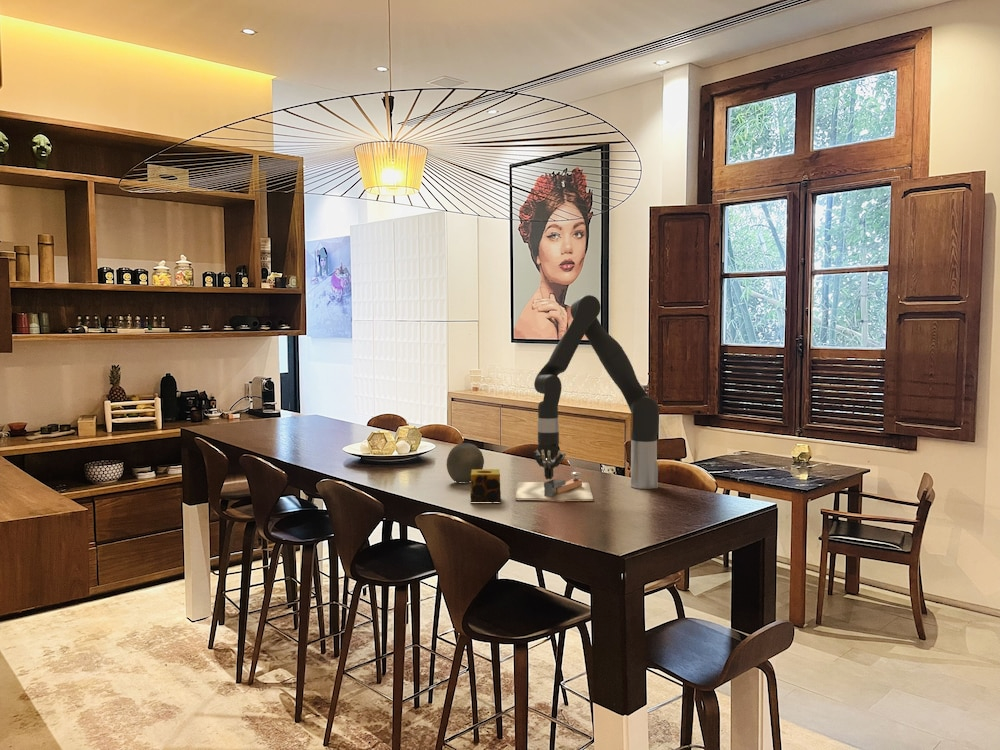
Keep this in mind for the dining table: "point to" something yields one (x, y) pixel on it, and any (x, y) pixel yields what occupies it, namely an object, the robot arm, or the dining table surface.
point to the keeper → (552, 487)
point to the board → (537, 492)
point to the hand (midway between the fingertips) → (548, 478)
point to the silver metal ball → (575, 475)
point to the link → (569, 485)
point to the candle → (485, 485)
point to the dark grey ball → (464, 461)
